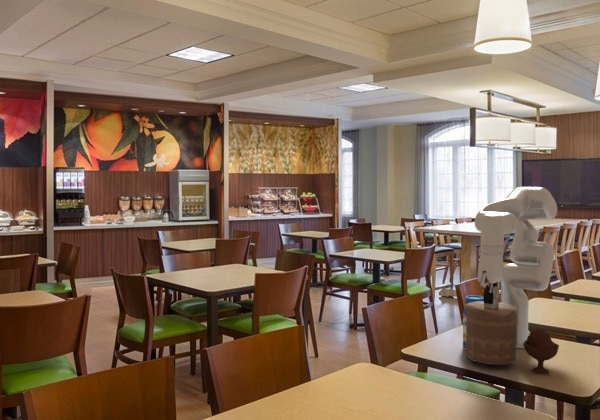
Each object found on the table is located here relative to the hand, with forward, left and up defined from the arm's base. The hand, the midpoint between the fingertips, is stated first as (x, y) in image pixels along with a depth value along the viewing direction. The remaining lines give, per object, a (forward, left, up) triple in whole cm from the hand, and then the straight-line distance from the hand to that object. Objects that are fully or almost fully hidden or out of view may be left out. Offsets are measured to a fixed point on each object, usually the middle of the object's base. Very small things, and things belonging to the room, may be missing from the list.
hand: (491, 301), depth 189 cm
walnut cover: (0, 0, -19) cm, 19 cm away
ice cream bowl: (-4, +16, -22) cm, 27 cm away
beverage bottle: (-11, -12, -22) cm, 27 cm away
